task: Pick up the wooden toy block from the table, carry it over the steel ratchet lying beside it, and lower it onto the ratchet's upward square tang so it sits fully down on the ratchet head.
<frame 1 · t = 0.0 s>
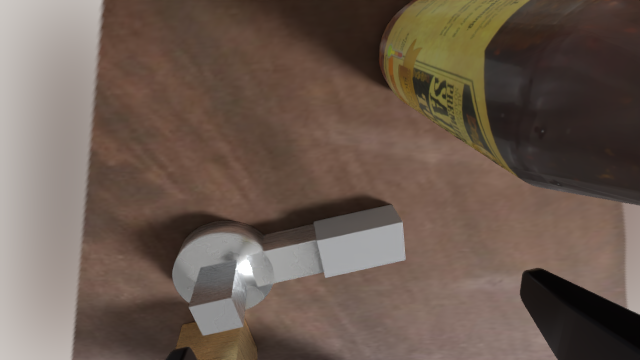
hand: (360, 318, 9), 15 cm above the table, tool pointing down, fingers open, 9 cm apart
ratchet: (227, 259, 26), on the table
sauce bottle: (425, 52, 21), on the table, touching gripper
wooden toy block: (221, 337, 29), on the table
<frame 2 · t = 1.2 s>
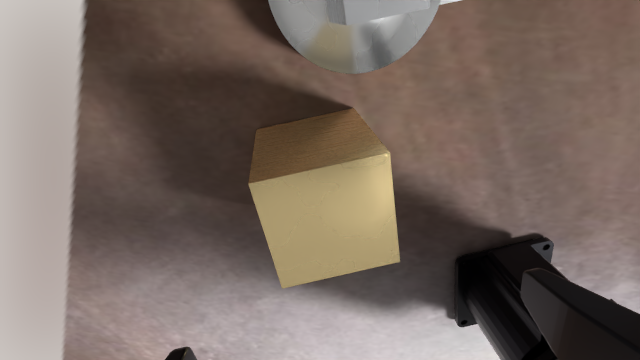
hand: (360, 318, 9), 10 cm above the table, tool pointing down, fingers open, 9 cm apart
wooden toy block: (314, 162, 18), on the table
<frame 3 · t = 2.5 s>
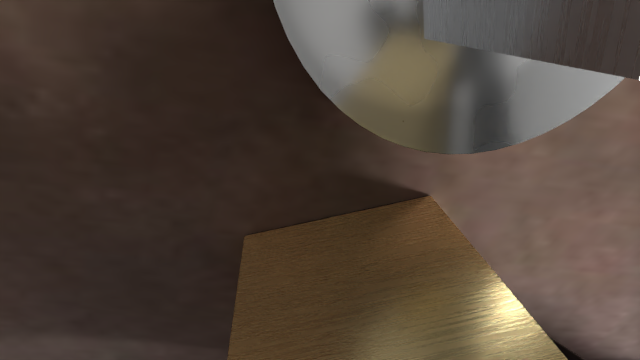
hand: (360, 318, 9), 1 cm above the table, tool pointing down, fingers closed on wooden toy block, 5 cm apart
wooden toy block: (350, 285, 10), on the table, touching gripper
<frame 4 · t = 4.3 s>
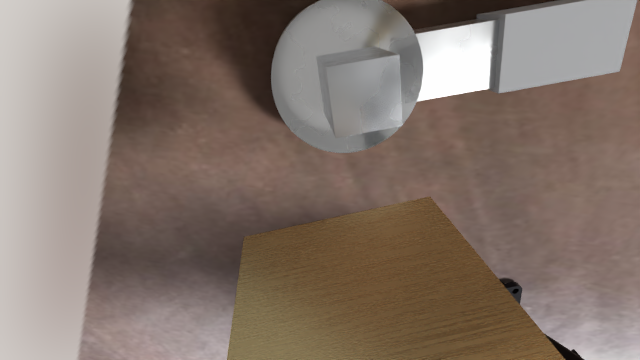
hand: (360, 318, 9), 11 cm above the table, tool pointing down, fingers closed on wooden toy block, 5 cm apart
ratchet: (341, 74, 17), on the table
wooden toy block: (350, 285, 10), point 10 cm above the table, touching gripper
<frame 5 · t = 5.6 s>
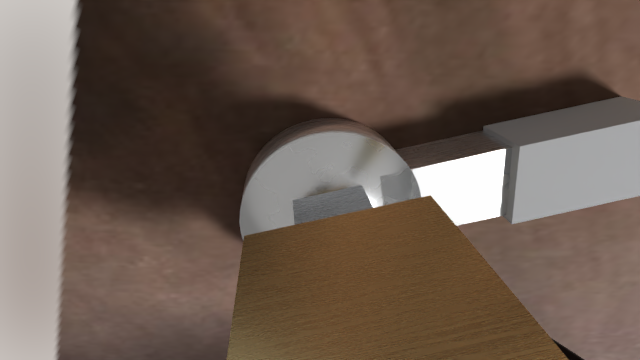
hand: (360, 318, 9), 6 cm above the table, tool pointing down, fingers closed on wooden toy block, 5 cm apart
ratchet: (326, 196, 15), on the table
wooden toy block: (350, 284, 10), point 5 cm above the table, touching gripper
when the fingers open (4 cm above the table, at t = 6.4 s): wooden toy block drops 1 cm, resting on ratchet.
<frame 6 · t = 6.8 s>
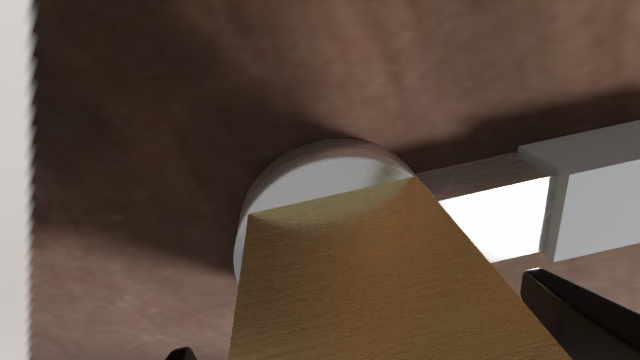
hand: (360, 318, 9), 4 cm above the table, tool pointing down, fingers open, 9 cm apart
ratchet: (334, 226, 13), on the table, touching wooden toy block
wooden toy block: (345, 260, 11), point 2 cm above the table, touching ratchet
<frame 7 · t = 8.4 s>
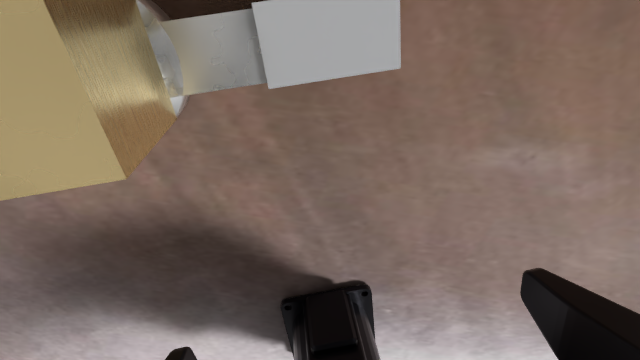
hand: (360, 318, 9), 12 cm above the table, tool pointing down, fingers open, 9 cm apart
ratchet: (115, 64, 16), on the table, touching wooden toy block
wooden toy block: (97, 71, 14), point 2 cm above the table, touching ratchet
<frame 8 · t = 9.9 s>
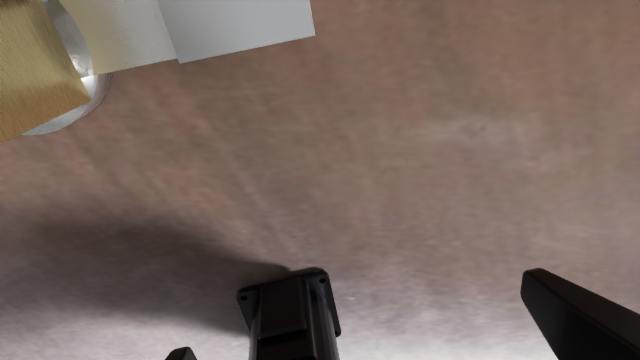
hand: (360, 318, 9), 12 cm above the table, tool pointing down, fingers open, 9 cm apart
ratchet: (31, 49, 16), on the table, touching wooden toy block
wooden toy block: (2, 54, 14), point 2 cm above the table, touching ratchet
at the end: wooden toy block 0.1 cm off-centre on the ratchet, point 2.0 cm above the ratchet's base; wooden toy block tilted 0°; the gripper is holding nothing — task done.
